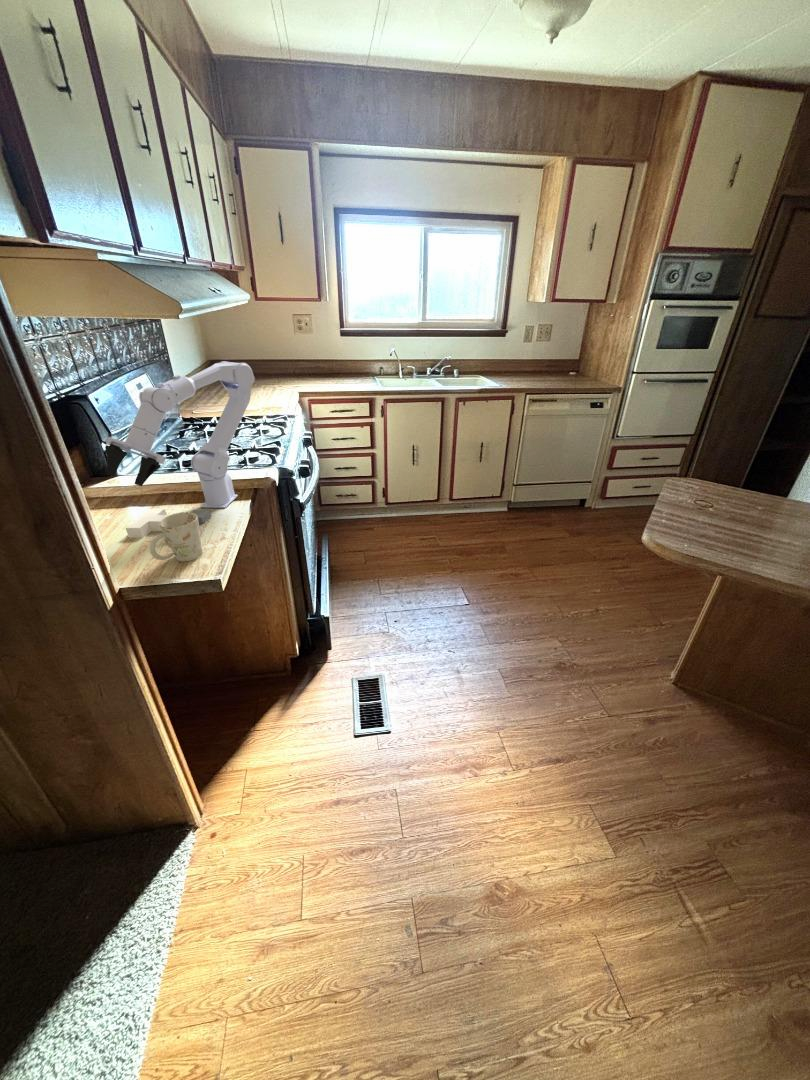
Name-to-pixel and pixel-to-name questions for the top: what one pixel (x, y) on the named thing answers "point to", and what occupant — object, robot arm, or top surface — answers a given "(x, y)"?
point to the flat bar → (200, 516)
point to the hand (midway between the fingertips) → (123, 480)
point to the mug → (179, 537)
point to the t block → (146, 523)
